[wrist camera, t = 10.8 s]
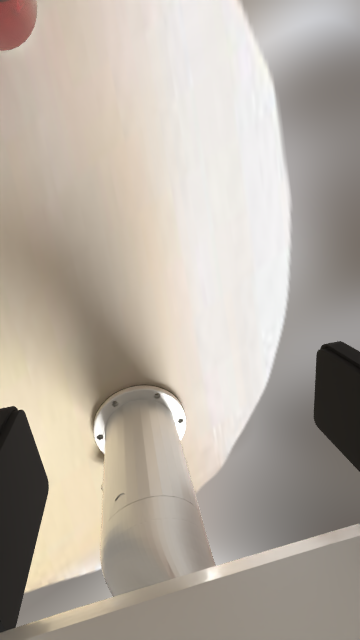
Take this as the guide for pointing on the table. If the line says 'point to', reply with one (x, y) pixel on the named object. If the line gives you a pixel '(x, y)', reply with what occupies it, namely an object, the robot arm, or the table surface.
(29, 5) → the soda can
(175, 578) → the robot arm
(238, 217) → the table surface
